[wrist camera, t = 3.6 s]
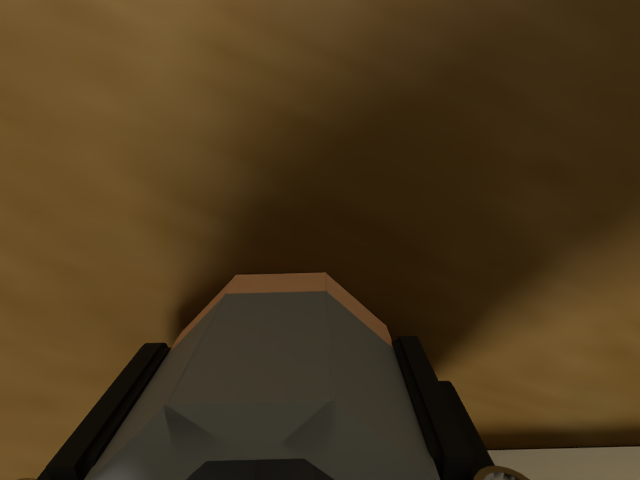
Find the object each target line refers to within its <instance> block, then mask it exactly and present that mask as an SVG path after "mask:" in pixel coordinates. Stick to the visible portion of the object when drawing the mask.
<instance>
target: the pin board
mask: <svg viewBox="0 0 640 480" xmlns="http://www.w3.org/2000/svg"><path fill="white" fill-rule="evenodd" d="M487 451H488V453H489V455H490V457H491V459H492V461H493V463H494V465H495V466H502V467H506V468H510V469H512V470H515V471H517V472H519V473H521V474H523V475H524V476H525V477H527V478H528V479H530V480H640V446H639V447H600V448H562V449H523V450H487Z"/></svg>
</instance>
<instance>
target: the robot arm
mask: <svg viewBox="0 0 640 480" xmlns="http://www.w3.org/2000/svg"><path fill="white" fill-rule="evenodd" d="M392 345H393V348H394V351H395V354H396V357H397V360H398V363H399V366H400V369H401V372H402V375H403V378H404V381H405V383H406V386H407V389H408V392H409V395H410V398H411V401H412V404H413V407H414V410H415V413H416V416H417V419H418V421H419V424H420V427H421V430H422V433H423V436H424V439H425V442H426V445H427V448H428V451H429V454H430V457H431V458H433V461H434V463H435V466H436V469H437V472H438V475H439V478H440V480H530V479H528V478H527V477H525V476H524V475H523V474H521V473H519V472H517V471H515V470H512V469H510V468H506V467H502V466H495V465H494V463H493V461H492V459H491V457H490V455H489V453H488V451H487V449H486V447H485V445H484V444H483V442H482V440H481V438H480V436H479V434H478V432H477V430H476V428H475V426H474V424H473V423H472V421H471V419H470V417H469V415H468V413H467V411H466V409H465V407H464V405H463V403H462V402H461V400H460V398H459V396H458V394H457V392H456V390H455V388H454V386H453V385H452V383H451V382H449V381H438V379H437V377H436V375H435V373H434V371H433V369H432V367H431V365H430V362H429V360H428V358H427V356H426V354H425V352H424V350H423V348H422V346H421V343H420V341H419V339H418V337H417V336H399V337H398V338H397V341H395V342H392ZM170 350H171V347H169V348H168V346H167V344H166V343H146V344H144V345H143V346H142V347H141V348H140V350H139V351H138V352H137V353H136V355H135V356H134V357H133V358H132V360H131V361H130V362H129V363H128V365H127V366H126V367H125V368H124V370H123V371H122V372H121V373H120V375H119V376H118V377H117V378H116V380H115V381H114V382H113V383H112V385H111V386H110V387H109V388H108V390H107V391H106V392H105V393H104V395H103V396H102V397H101V398H100V400H99V401H98V402H97V403H96V405H95V406H94V407H93V408H92V410H91V411H90V412H89V414H88V415H87V416H86V417H85V419H84V420H83V421H82V422H81V424H80V425H79V426H78V427H77V429H76V430H75V431H74V432H73V434H72V435H71V436H70V437H69V439H68V440H67V441H66V442H65V444H64V445H63V446H62V447H61V449H60V450H59V451H58V452H57V454H56V455H55V456H54V457H53V459H52V460H51V461H50V462H49V464H48V465H47V466H46V468H45V469H44V471H43V472H42V473H41V474H40V476H39V477H38V478H37V479H34V478H22V479H18V480H84V479H85V477H86V476H87V474H88V473H89V471H90V470H91V468H92V467H93V466H95V464H96V462H97V461H98V459H99V458H100V456H101V455H102V453H103V452H104V450H105V449H106V447H107V446H108V444H109V443H110V441H111V440H112V438H113V437H114V435H115V434H116V432H117V431H118V429H119V427H120V426H121V424H122V423H123V421H124V420H125V418H126V417H127V415H128V414H129V412H130V411H131V409H132V408H133V406H134V405H135V403H136V402H137V400H138V399H139V397H140V395H141V394H142V392H143V391H144V389H145V388H146V386H147V385H148V383H149V382H150V380H151V379H152V377H153V376H154V374H155V373H156V371H157V370H158V368H159V367H160V365H161V364H162V362H163V360H164V359H165V357H166V356H167V354H168V353H169V351H170Z"/></svg>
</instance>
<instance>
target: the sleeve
mask: <svg viewBox="0 0 640 480" xmlns="http://www.w3.org/2000/svg"><path fill="white" fill-rule="evenodd" d="M84 480H440V478H439V475H438V472H437V469H436V466H435V463H434V461H433V458H431V457H430V454H429V451H428V448H427V445H426V442H425V439H424V436H423V433H422V430H421V427H420V424H419V421H418V419H417V416H416V413H415V410H414V407H413V404H412V401H411V398H410V395H409V392H408V389H407V386H406V383H405V381H404V378H403V375H402V372H401V369H400V366H399V363H398V360H397V357H396V354H395V351H394V348H393V345H392V340H391V337H390V334H389V331H388V329H387V326H386V325H385V324H384V323H382V322H381V321H380V320H379V319H378V318H377V317H376V316H374V315H373V314H372V313H371V312H370V311H369V310H368V309H366V308H365V307H364V306H363V305H362V304H361V303H360V302H358V301H357V300H356V299H355V298H354V297H353V296H352V295H350V294H349V293H348V292H347V291H346V290H345V289H344V288H342V287H341V286H340V285H339V284H338V283H337V282H336V281H334V280H333V279H332V278H331V277H330V276H329V275H328V274H326V272H324V273H287V274H250V275H237V274H236V275H235V276H234V278H233V279H232V280H231V281H230V282H229V283H228V284H227V285H226V286H225V287H224V288H223V289H222V290H221V291H220V292H219V293H218V294H217V295H216V297H215V298H214V299H213V300H212V301H211V302H210V303H209V304H208V305H207V306H206V307H205V308H204V309H203V310H202V311H201V312H200V313H199V314H198V315H197V317H196V318H195V319H194V320H193V321H192V322H191V323H190V324H189V325H188V326H187V327H186V328H185V329H184V330H182V332H181V333H180V335H179V336H178V338H177V339H176V341H175V343H174V344H173V346H172V347H171V350H170V351H169V353H168V354H167V356H166V357H165V359H164V360H163V362H162V364H161V365H160V367H159V368H158V370H157V371H156V373H155V374H154V376H153V377H152V379H151V380H150V382H149V383H148V385H147V386H146V388H145V389H144V391H143V392H142V394H141V395H140V397H139V399H138V400H137V402H136V403H135V405H134V406H133V408H132V409H131V411H130V412H129V414H128V415H127V417H126V418H125V420H124V421H123V423H122V424H121V426H120V427H119V429H118V431H117V432H116V434H115V435H114V437H113V438H112V440H111V441H110V443H109V444H108V446H107V447H106V449H105V450H104V452H103V453H102V455H101V456H100V458H99V459H98V461H97V462H96V464H95V466H93V467H92V468H91V470H90V471H89V473H88V474H87V476H86V477H85V479H84Z"/></svg>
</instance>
